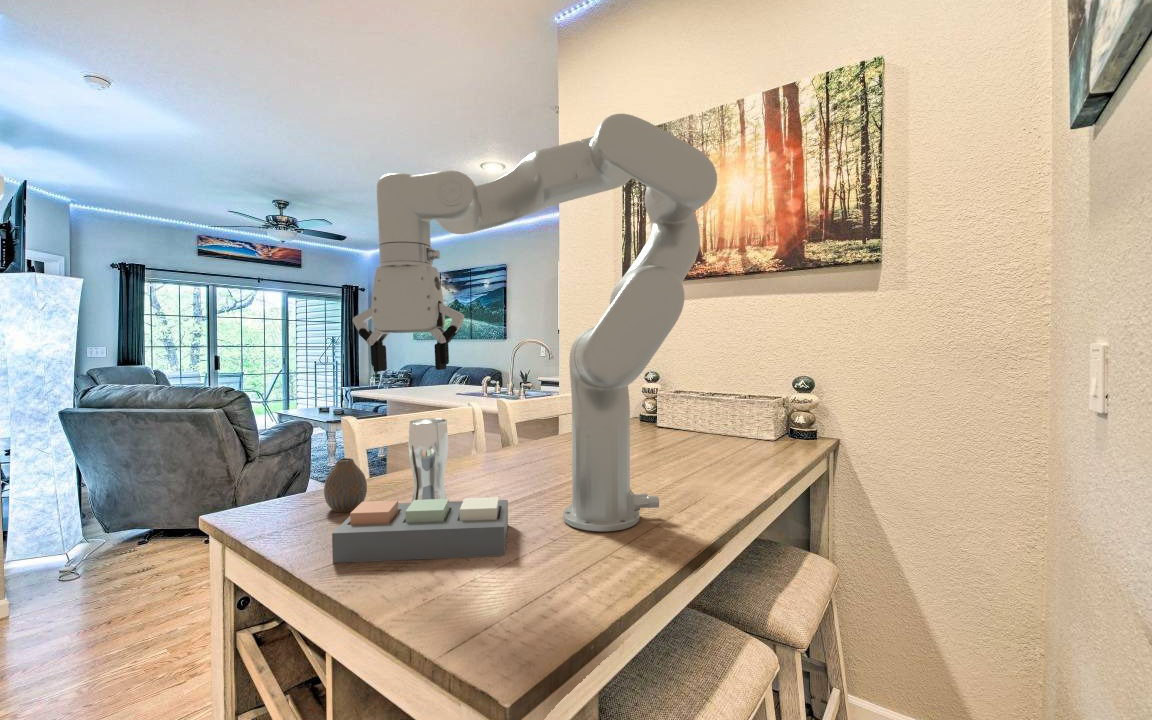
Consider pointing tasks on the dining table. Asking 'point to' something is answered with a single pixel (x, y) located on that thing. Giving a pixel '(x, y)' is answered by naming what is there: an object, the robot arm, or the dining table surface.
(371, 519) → the terracotta button
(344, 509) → the vase
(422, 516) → the sage button
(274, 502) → the dining table surface
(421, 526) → the button panel
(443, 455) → the beer glass
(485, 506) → the cream button
